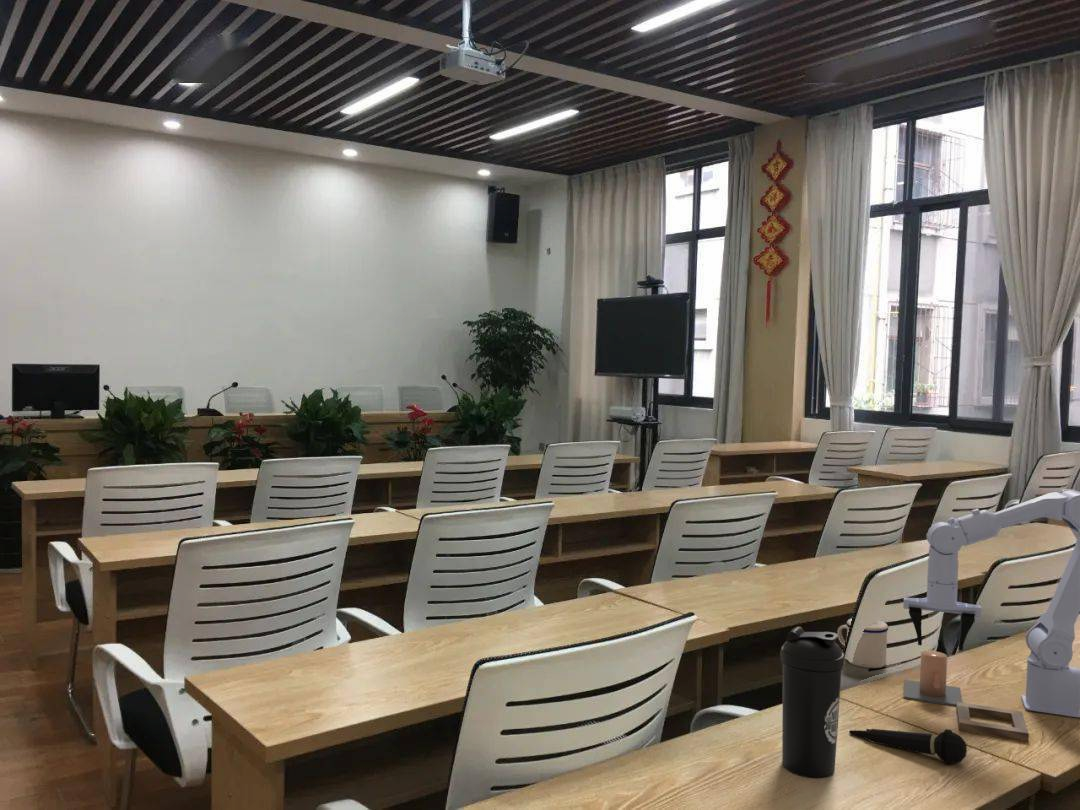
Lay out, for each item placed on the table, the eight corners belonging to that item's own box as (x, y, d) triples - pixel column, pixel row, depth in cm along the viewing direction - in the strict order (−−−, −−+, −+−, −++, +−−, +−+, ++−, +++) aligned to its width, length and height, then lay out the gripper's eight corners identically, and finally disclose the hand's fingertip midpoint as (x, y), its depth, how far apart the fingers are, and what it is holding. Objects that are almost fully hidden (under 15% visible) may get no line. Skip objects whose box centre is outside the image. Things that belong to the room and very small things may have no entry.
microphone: (848, 754, 164) (965, 774, 151) (841, 727, 162) (959, 745, 150) (857, 736, 168) (972, 754, 155) (851, 709, 167) (966, 725, 154)
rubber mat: (960, 689, 190) (960, 687, 190) (962, 707, 180) (962, 705, 180) (904, 681, 194) (904, 679, 194) (903, 698, 184) (903, 696, 184)
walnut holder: (1021, 719, 174) (1021, 711, 174) (1028, 741, 163) (1028, 733, 163) (956, 709, 178) (956, 701, 178) (958, 730, 168) (959, 722, 168)
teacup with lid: (894, 664, 205) (896, 613, 205) (872, 671, 200) (874, 620, 199) (848, 650, 215) (850, 602, 214) (826, 657, 209) (827, 607, 209)
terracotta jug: (917, 685, 190) (918, 648, 190) (942, 688, 189) (944, 651, 188) (923, 699, 182) (924, 660, 182) (949, 701, 181) (951, 662, 181)
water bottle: (831, 786, 144) (836, 645, 143) (769, 770, 149) (773, 633, 148) (846, 763, 153) (851, 630, 152) (787, 748, 158) (791, 619, 157)
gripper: (980, 581, 186) (977, 645, 186) (904, 573, 191) (902, 636, 192) (982, 588, 179) (979, 655, 180) (904, 580, 185) (901, 645, 185)
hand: (940, 646), depth 185 cm, fingers open, 7 cm apart
